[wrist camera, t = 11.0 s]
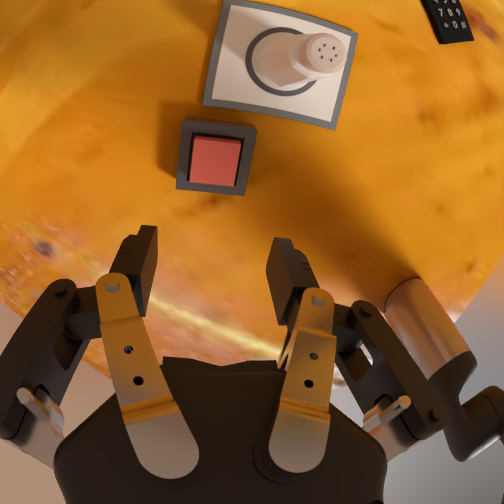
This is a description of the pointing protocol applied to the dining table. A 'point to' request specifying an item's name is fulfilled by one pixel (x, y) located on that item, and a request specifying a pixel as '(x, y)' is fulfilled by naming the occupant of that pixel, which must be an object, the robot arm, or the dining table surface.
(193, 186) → the button housing
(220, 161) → the button
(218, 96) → the board
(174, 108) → the dining table surface
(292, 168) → the dining table surface
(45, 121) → the dining table surface
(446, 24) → the remote control
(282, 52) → the salt shaker
